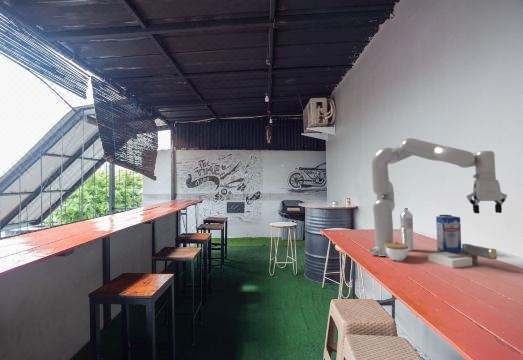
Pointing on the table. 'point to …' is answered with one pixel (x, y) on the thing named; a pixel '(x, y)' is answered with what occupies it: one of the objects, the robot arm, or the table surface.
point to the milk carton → (448, 234)
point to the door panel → (450, 259)
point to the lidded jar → (397, 251)
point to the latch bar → (479, 251)
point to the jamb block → (474, 257)
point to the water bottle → (407, 229)
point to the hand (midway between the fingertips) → (487, 212)
